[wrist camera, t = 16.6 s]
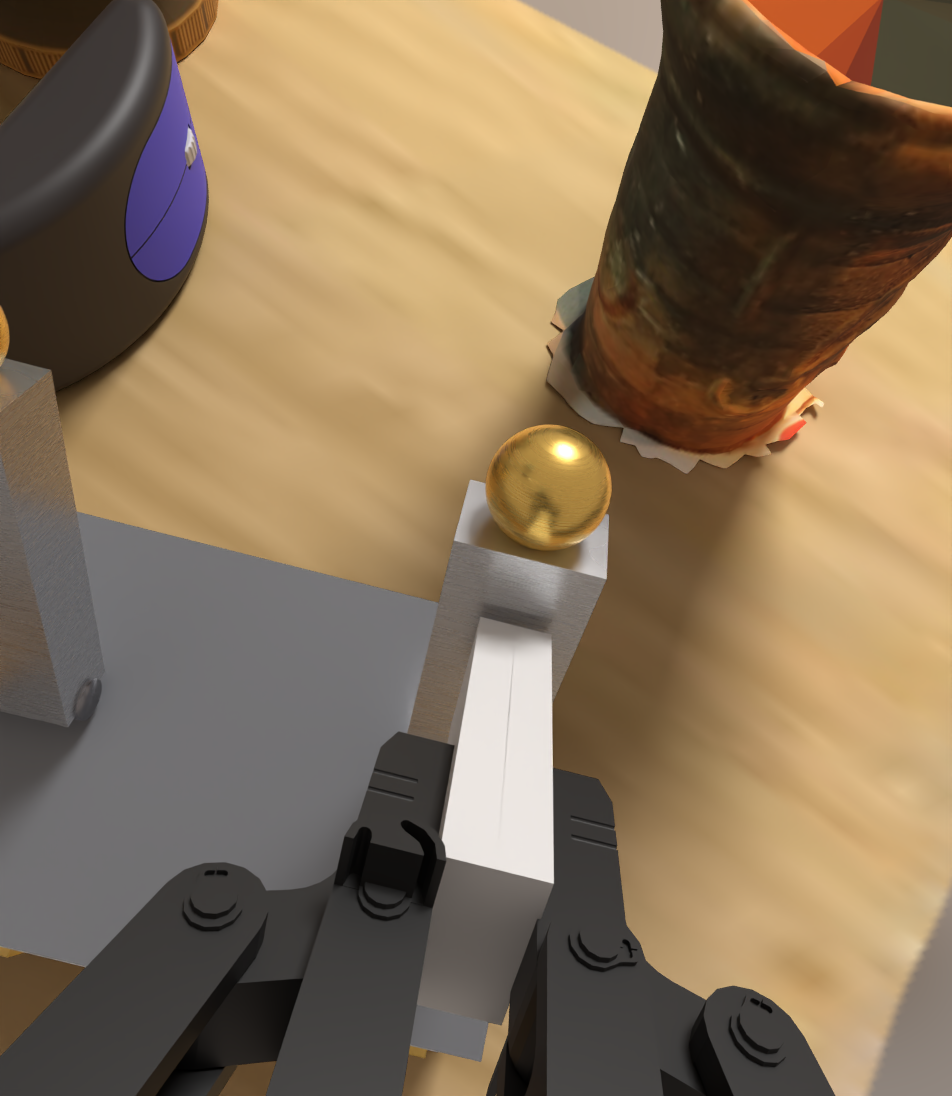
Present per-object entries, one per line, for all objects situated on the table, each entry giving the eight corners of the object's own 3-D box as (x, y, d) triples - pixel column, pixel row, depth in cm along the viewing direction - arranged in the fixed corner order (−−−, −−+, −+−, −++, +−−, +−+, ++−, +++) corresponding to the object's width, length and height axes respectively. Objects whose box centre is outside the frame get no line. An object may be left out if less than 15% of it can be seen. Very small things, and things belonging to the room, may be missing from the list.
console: (-16, 910, 28) (-163, 931, 20) (123, 583, 32) (44, 503, 25) (452, 1023, 28) (476, 1085, 20) (522, 683, 33) (562, 633, 25)
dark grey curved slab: (88, 439, 35) (-13, 300, 26) (-6, 401, 35) (-138, 249, 26) (259, 188, 41) (224, 5, 32) (178, 156, 41) (121, -34, 32)
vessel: (713, 555, 36) (1052, 217, 17) (484, 363, 38) (565, -105, 20) (876, 373, 40) (1276, -43, 22) (662, 214, 43) (858, -272, 25)
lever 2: (381, 823, 22) (468, 451, 13) (400, 751, 24) (488, 383, 15) (493, 851, 22) (651, 497, 13) (503, 777, 24) (649, 424, 15)
